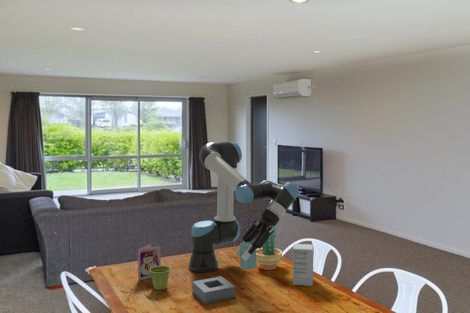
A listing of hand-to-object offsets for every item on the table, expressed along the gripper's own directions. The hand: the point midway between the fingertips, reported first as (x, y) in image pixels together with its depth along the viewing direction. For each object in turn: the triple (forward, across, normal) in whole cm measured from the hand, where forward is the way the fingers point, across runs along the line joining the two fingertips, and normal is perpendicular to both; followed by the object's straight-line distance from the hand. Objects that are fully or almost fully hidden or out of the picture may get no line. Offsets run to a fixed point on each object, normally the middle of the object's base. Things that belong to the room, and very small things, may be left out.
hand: (240, 257), depth 176 cm
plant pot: (+31, +29, +5) cm, 43 cm away
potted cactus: (-9, +29, -36) cm, 47 cm away
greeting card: (+32, +46, +6) cm, 56 cm away
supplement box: (-11, +3, -38) cm, 40 cm away
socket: (+19, +9, -7) cm, 22 cm away
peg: (+1, 0, -6) cm, 6 cm away
